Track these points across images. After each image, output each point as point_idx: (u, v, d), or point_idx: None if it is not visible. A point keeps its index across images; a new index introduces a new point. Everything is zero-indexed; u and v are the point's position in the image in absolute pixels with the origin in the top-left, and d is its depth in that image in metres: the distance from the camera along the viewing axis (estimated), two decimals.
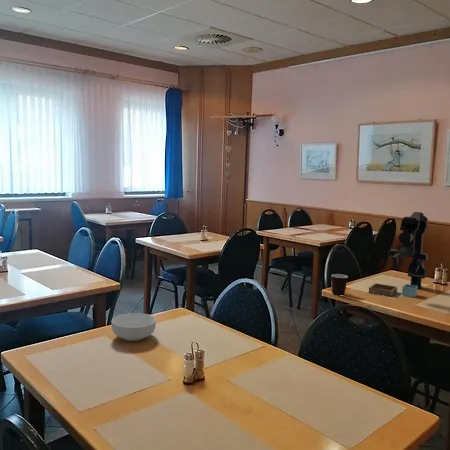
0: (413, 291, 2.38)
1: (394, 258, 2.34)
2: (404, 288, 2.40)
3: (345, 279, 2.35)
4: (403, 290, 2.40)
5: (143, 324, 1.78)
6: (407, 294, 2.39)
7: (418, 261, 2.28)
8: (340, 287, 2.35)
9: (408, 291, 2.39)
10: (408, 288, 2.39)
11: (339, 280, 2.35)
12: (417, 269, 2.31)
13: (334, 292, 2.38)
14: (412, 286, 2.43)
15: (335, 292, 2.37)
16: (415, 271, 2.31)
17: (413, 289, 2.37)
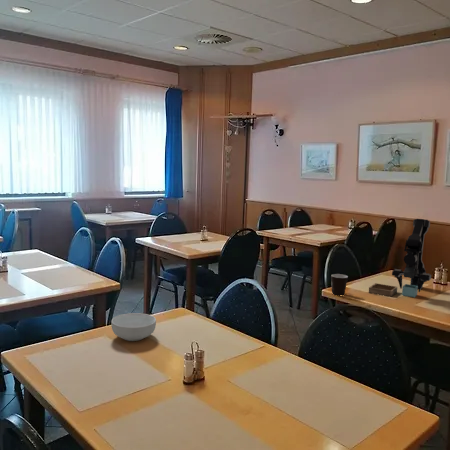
0: (413, 291, 2.38)
1: (398, 278, 2.42)
2: (404, 288, 2.40)
3: (345, 279, 2.35)
4: (403, 290, 2.40)
5: (143, 324, 1.78)
6: (407, 294, 2.39)
7: (421, 281, 2.36)
8: (340, 287, 2.35)
9: (408, 291, 2.39)
10: (408, 288, 2.39)
11: (339, 280, 2.35)
12: (420, 289, 2.39)
13: (334, 292, 2.38)
14: (412, 286, 2.43)
15: (335, 292, 2.37)
16: None
17: (413, 289, 2.37)
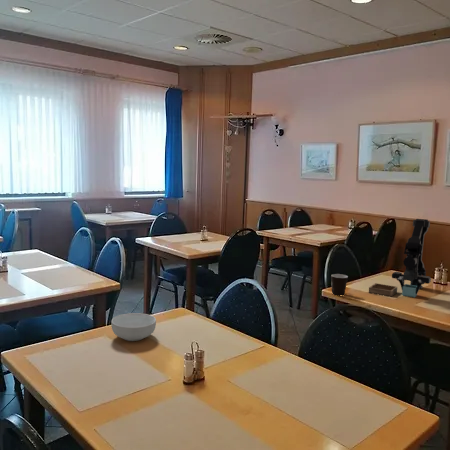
0: (413, 291, 2.38)
1: (400, 281, 2.42)
2: (404, 288, 2.40)
3: (345, 279, 2.35)
4: (403, 290, 2.40)
5: (143, 324, 1.78)
6: (407, 294, 2.39)
7: (419, 284, 2.36)
8: (340, 287, 2.35)
9: (408, 291, 2.39)
10: (408, 288, 2.39)
11: (339, 280, 2.35)
12: None
13: (334, 292, 2.38)
14: (412, 286, 2.43)
15: (335, 292, 2.37)
16: (416, 293, 2.39)
17: (413, 289, 2.37)
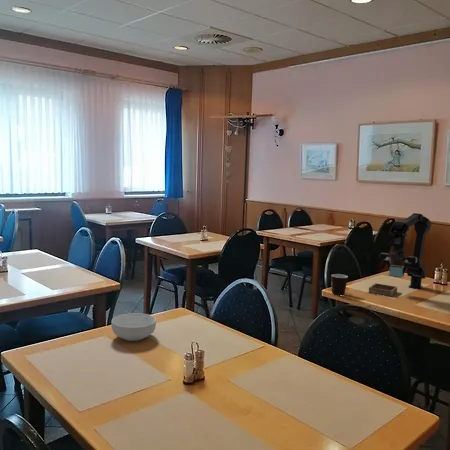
0: (400, 271, 2.38)
1: (387, 261, 2.42)
2: (391, 268, 2.40)
3: (345, 279, 2.35)
4: (390, 270, 2.41)
5: (143, 324, 1.78)
6: (394, 274, 2.40)
7: (405, 264, 2.37)
8: (340, 287, 2.35)
9: (395, 271, 2.39)
10: (395, 268, 2.39)
11: (339, 280, 2.35)
12: (404, 271, 2.41)
13: (334, 292, 2.38)
14: (399, 267, 2.44)
15: (335, 292, 2.37)
16: (403, 273, 2.40)
17: (400, 269, 2.38)
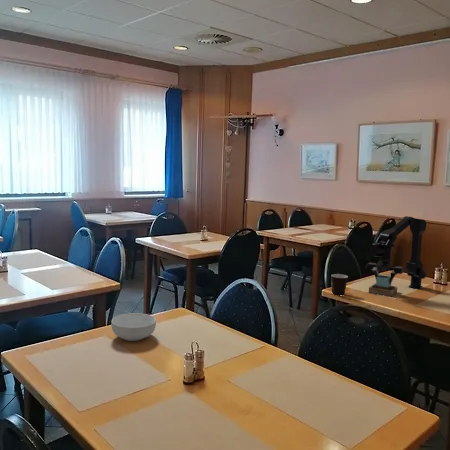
0: (386, 281, 2.41)
1: (374, 271, 2.45)
2: (378, 278, 2.43)
3: (345, 279, 2.35)
4: (377, 280, 2.44)
5: (143, 324, 1.78)
6: (381, 284, 2.43)
7: (392, 274, 2.40)
8: (340, 287, 2.35)
9: (382, 281, 2.42)
10: (382, 278, 2.42)
11: (339, 280, 2.35)
12: (391, 281, 2.43)
13: (334, 292, 2.38)
14: (386, 277, 2.47)
15: (335, 292, 2.37)
16: (389, 283, 2.43)
17: (386, 279, 2.41)
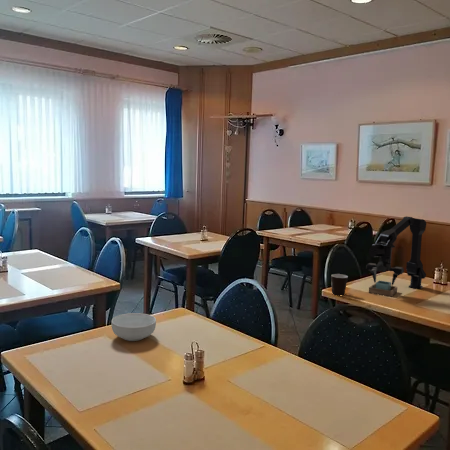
0: (386, 287, 2.41)
1: (372, 272, 2.46)
2: (377, 284, 2.44)
3: (345, 279, 2.35)
4: (377, 286, 2.44)
5: (143, 324, 1.78)
6: None
7: (394, 275, 2.39)
8: (340, 287, 2.35)
9: (381, 287, 2.43)
10: (381, 284, 2.43)
11: (339, 280, 2.35)
12: None
13: (334, 292, 2.38)
14: (385, 282, 2.47)
15: (335, 292, 2.37)
16: (392, 284, 2.42)
17: (386, 285, 2.41)
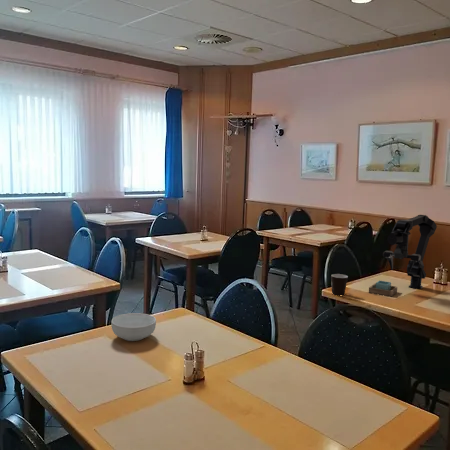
0: (386, 287, 2.41)
1: (389, 259, 2.48)
2: (377, 284, 2.44)
3: (345, 279, 2.35)
4: (377, 286, 2.44)
5: (143, 324, 1.78)
6: None
7: (411, 262, 2.41)
8: (340, 287, 2.35)
9: (381, 287, 2.43)
10: (381, 284, 2.43)
11: (339, 280, 2.35)
12: (411, 269, 2.45)
13: (334, 292, 2.38)
14: (385, 282, 2.47)
15: (335, 292, 2.37)
16: (409, 271, 2.44)
17: (386, 285, 2.41)
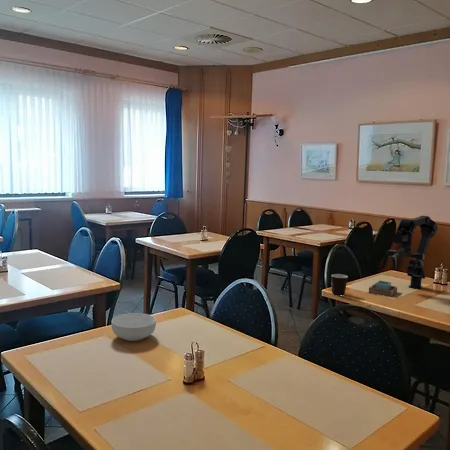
0: (386, 287, 2.41)
1: (393, 258, 2.49)
2: (377, 284, 2.44)
3: (345, 279, 2.35)
4: (377, 286, 2.44)
5: (143, 324, 1.78)
6: None
7: (415, 261, 2.42)
8: (340, 287, 2.35)
9: (381, 287, 2.43)
10: (381, 284, 2.43)
11: (339, 280, 2.35)
12: (414, 268, 2.46)
13: (334, 292, 2.38)
14: (385, 282, 2.47)
15: (335, 292, 2.37)
16: (412, 270, 2.45)
17: (386, 285, 2.41)
